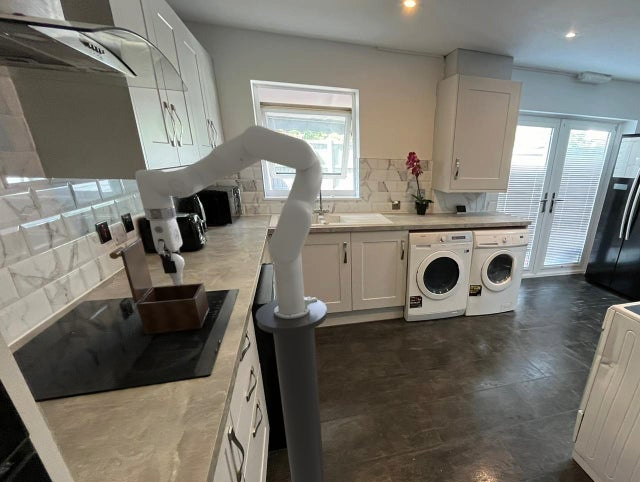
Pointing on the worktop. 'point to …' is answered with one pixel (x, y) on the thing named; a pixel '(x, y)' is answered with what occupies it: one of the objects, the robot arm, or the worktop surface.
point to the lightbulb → (179, 266)
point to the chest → (173, 308)
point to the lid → (135, 268)
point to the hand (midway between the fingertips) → (174, 268)
